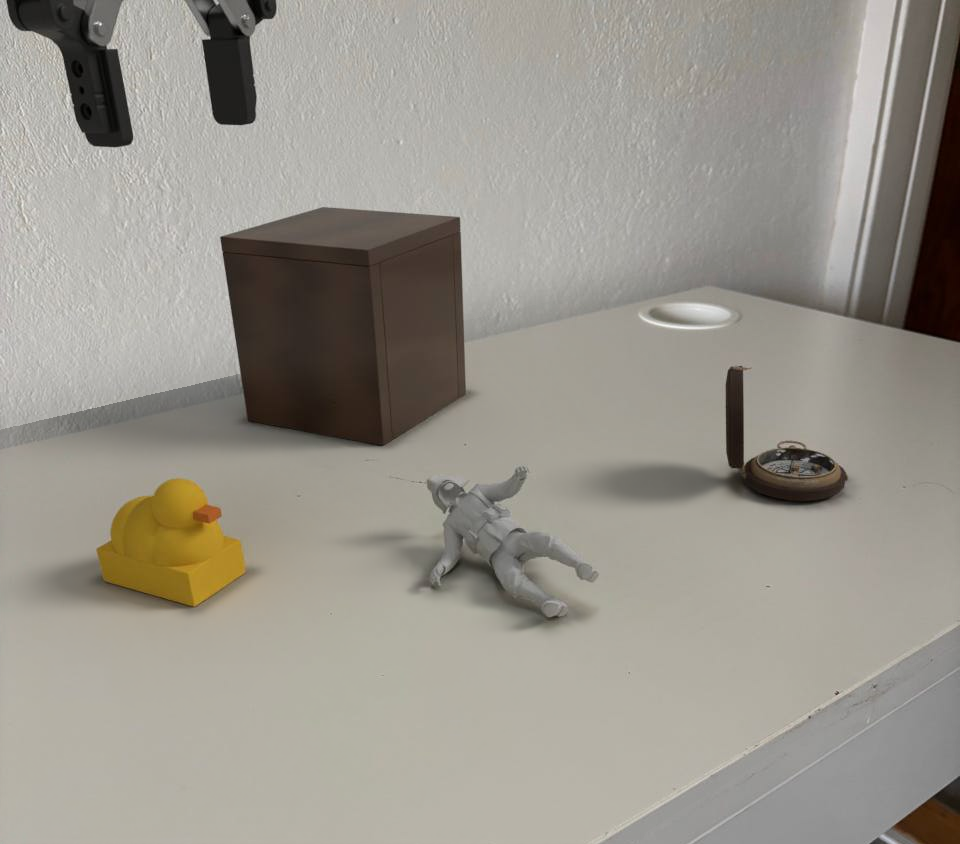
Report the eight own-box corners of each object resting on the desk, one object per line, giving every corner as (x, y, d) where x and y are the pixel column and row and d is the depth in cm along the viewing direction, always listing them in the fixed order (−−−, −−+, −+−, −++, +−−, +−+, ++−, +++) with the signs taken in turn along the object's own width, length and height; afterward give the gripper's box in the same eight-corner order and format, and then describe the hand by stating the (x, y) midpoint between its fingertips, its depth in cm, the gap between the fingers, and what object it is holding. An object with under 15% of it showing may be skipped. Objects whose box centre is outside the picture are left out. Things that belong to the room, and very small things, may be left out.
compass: (850, 507, 61) (872, 387, 57) (715, 499, 63) (727, 382, 59) (838, 456, 68) (857, 346, 64) (716, 450, 69) (727, 342, 66)
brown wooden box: (247, 420, 76) (219, 236, 70) (339, 374, 85) (322, 206, 78) (383, 445, 72) (368, 250, 65) (466, 393, 80) (460, 216, 74)
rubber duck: (103, 581, 56) (78, 480, 53) (158, 549, 59) (137, 452, 56) (201, 609, 53) (181, 504, 50) (253, 574, 56) (237, 473, 53)
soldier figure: (504, 658, 50) (360, 516, 55) (540, 676, 54) (403, 542, 60) (611, 537, 49) (454, 403, 54) (639, 564, 53) (491, 438, 59)
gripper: (157, -281, 47) (214, 117, 55) (-127, -356, 36) (-1, 151, 45) (290, -305, 44) (329, 120, 52) (22, -394, 33) (126, 157, 42)
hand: (177, 134), depth 49 cm, fingers open, 8 cm apart
